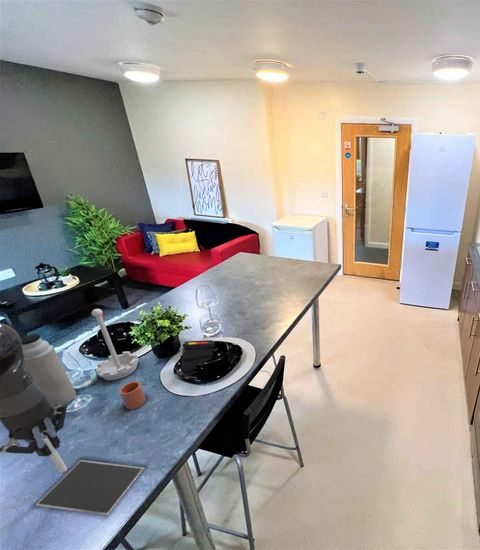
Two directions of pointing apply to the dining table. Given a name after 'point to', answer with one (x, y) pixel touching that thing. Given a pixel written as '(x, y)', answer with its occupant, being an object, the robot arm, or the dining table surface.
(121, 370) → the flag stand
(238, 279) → the dining table surface
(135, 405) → the pen cup
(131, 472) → the tablet
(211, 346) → the striped top black block
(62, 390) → the thermos bottle
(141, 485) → the dining table surface
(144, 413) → the dining table surface
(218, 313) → the dining table surface
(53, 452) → the stylus
